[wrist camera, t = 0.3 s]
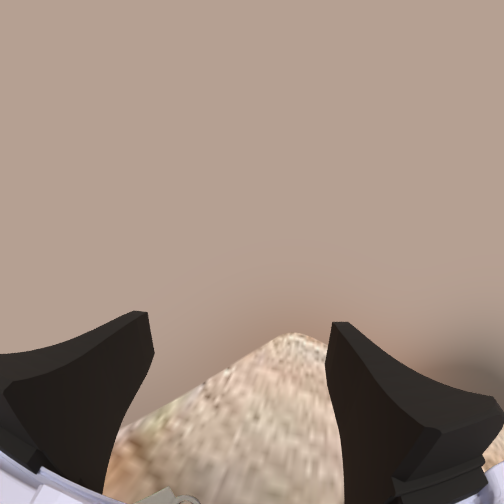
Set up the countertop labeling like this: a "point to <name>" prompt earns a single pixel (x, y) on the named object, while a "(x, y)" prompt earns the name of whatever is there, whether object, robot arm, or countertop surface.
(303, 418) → the countertop surface
